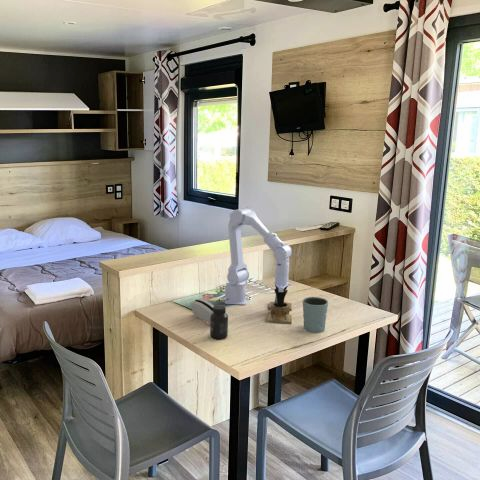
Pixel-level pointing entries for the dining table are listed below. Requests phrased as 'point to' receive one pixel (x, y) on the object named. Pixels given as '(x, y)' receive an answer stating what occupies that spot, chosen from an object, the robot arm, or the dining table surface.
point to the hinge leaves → (280, 313)
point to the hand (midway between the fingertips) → (280, 302)
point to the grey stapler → (202, 309)
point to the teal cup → (314, 314)
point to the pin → (277, 302)
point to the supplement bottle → (219, 323)
